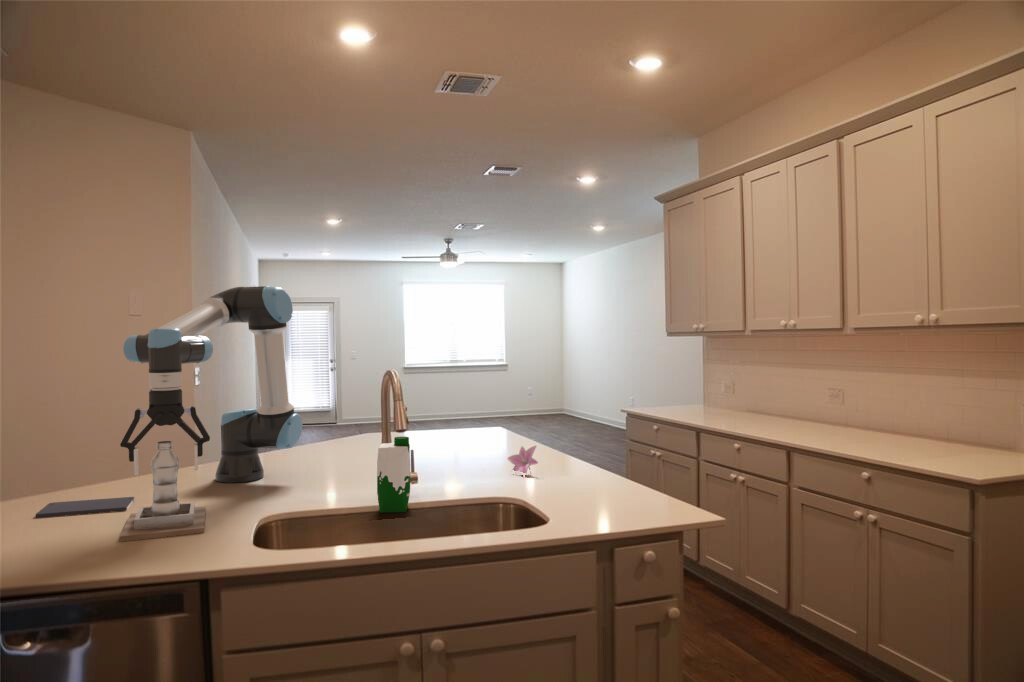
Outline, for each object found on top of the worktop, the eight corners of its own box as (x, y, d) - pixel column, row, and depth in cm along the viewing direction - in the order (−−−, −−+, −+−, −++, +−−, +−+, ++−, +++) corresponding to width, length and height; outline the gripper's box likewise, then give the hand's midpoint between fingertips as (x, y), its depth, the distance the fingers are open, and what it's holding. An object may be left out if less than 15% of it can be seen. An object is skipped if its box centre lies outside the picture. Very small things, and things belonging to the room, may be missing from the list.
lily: (506, 473, 239) (499, 452, 235) (534, 458, 243) (528, 437, 238) (520, 490, 229) (514, 468, 225) (550, 475, 233) (544, 453, 228)
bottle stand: (130, 518, 177) (130, 504, 177) (205, 510, 184) (205, 497, 184) (119, 541, 157) (119, 526, 157) (204, 532, 164) (204, 517, 164)
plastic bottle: (168, 524, 167) (167, 444, 166) (144, 523, 168) (143, 443, 168) (186, 517, 173) (185, 440, 173) (163, 516, 174) (162, 439, 174)
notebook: (35, 520, 177) (126, 512, 184) (35, 514, 177) (126, 507, 184) (49, 508, 189) (135, 501, 196) (49, 502, 189) (135, 496, 196)
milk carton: (409, 513, 182) (409, 440, 182) (375, 513, 181) (375, 440, 181) (411, 504, 191) (411, 435, 191) (379, 505, 190) (379, 435, 190)
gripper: (106, 392, 161) (108, 479, 162) (219, 388, 172) (220, 470, 172) (111, 389, 168) (112, 473, 169) (219, 385, 178) (220, 464, 179)
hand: (166, 471), depth 171 cm, fingers open, 13 cm apart
